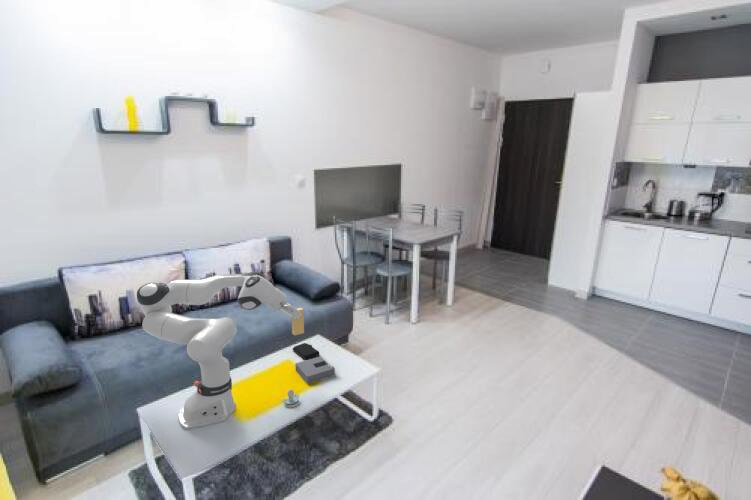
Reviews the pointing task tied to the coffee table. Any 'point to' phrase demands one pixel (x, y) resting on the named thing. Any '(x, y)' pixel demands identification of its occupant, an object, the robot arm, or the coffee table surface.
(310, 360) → the grey slotted base
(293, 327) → the tall tan cardboard box
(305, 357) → the carrying case or bag
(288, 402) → the pacifier
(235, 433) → the coffee table surface
